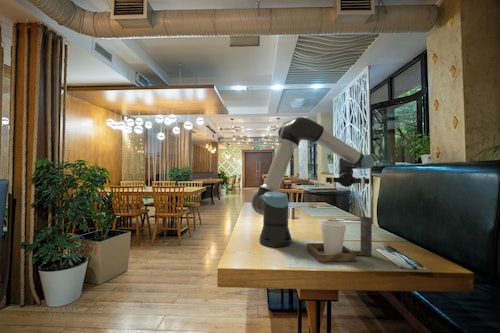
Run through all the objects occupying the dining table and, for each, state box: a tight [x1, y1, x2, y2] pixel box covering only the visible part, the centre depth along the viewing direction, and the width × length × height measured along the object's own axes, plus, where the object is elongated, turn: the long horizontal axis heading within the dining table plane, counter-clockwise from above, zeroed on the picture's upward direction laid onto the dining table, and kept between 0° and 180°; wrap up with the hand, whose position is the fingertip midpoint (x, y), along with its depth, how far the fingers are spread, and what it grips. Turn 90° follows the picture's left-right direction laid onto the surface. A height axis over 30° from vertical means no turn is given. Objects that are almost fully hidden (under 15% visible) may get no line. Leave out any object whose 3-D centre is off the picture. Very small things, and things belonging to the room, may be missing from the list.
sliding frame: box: [306, 216, 373, 263], centre depth 99 cm, size 24×14×15 cm, turn 94°
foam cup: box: [320, 220, 346, 254], centre depth 99 cm, size 10×9×13 cm
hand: (347, 180), depth 115 cm, fingers open, 13 cm apart
